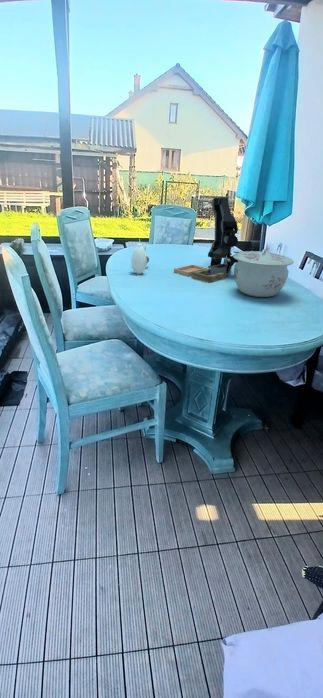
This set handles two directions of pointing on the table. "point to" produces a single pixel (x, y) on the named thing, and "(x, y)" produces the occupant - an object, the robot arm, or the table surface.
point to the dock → (203, 276)
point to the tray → (188, 270)
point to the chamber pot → (261, 272)
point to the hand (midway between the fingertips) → (222, 272)
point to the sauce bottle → (139, 259)
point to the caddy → (220, 268)
